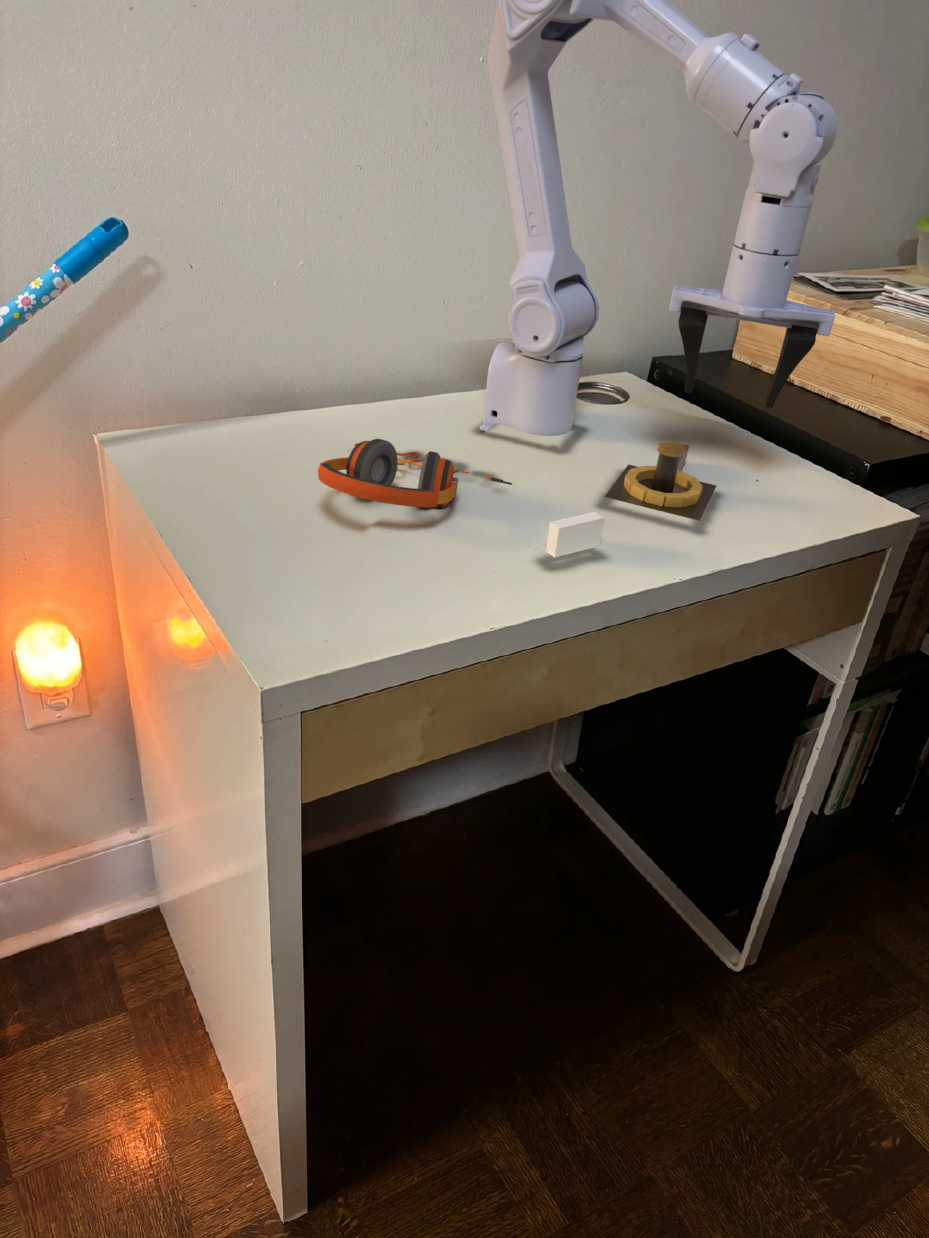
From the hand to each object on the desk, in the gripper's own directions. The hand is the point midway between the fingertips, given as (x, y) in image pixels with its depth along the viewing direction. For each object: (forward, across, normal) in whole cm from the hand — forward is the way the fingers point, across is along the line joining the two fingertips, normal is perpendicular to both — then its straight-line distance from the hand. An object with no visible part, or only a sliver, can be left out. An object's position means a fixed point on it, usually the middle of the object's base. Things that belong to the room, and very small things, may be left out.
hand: (728, 397), depth 89 cm
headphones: (+9, -26, -18) cm, 33 cm away
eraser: (+9, -10, -23) cm, 26 cm away
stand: (+9, -4, -7) cm, 12 cm away
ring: (+8, -4, -5) cm, 10 cm away
